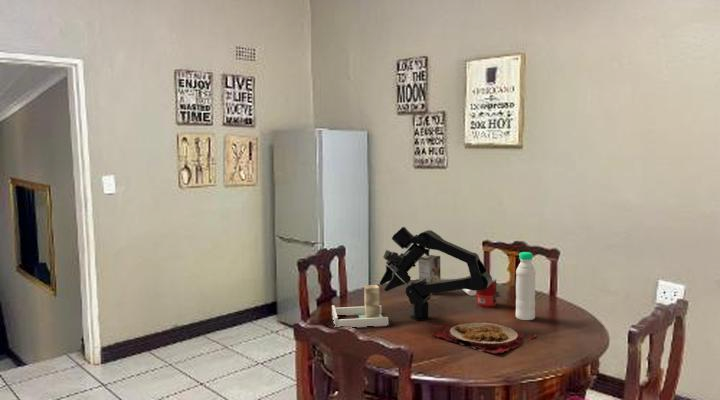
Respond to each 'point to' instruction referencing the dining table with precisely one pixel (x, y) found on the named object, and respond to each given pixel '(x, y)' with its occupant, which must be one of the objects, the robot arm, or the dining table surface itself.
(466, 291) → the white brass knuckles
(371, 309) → the beige cylinder
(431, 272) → the coffee box
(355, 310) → the tray
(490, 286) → the canned food
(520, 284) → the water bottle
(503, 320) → the dining table surface
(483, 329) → the plate with food
